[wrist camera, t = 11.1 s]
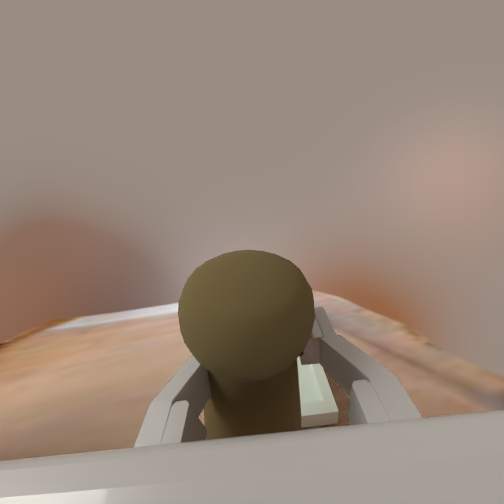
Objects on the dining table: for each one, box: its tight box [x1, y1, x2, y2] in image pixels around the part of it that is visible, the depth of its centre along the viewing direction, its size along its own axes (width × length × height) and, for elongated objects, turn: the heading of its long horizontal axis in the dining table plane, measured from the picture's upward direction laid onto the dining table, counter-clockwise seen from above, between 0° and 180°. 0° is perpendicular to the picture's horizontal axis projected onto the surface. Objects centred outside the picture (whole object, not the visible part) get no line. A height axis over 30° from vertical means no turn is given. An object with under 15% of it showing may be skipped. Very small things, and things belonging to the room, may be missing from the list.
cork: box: [178, 250, 315, 440], centre depth 10 cm, size 6×6×11 cm
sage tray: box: [297, 357, 339, 428], centre depth 23 cm, size 11×11×2 cm
